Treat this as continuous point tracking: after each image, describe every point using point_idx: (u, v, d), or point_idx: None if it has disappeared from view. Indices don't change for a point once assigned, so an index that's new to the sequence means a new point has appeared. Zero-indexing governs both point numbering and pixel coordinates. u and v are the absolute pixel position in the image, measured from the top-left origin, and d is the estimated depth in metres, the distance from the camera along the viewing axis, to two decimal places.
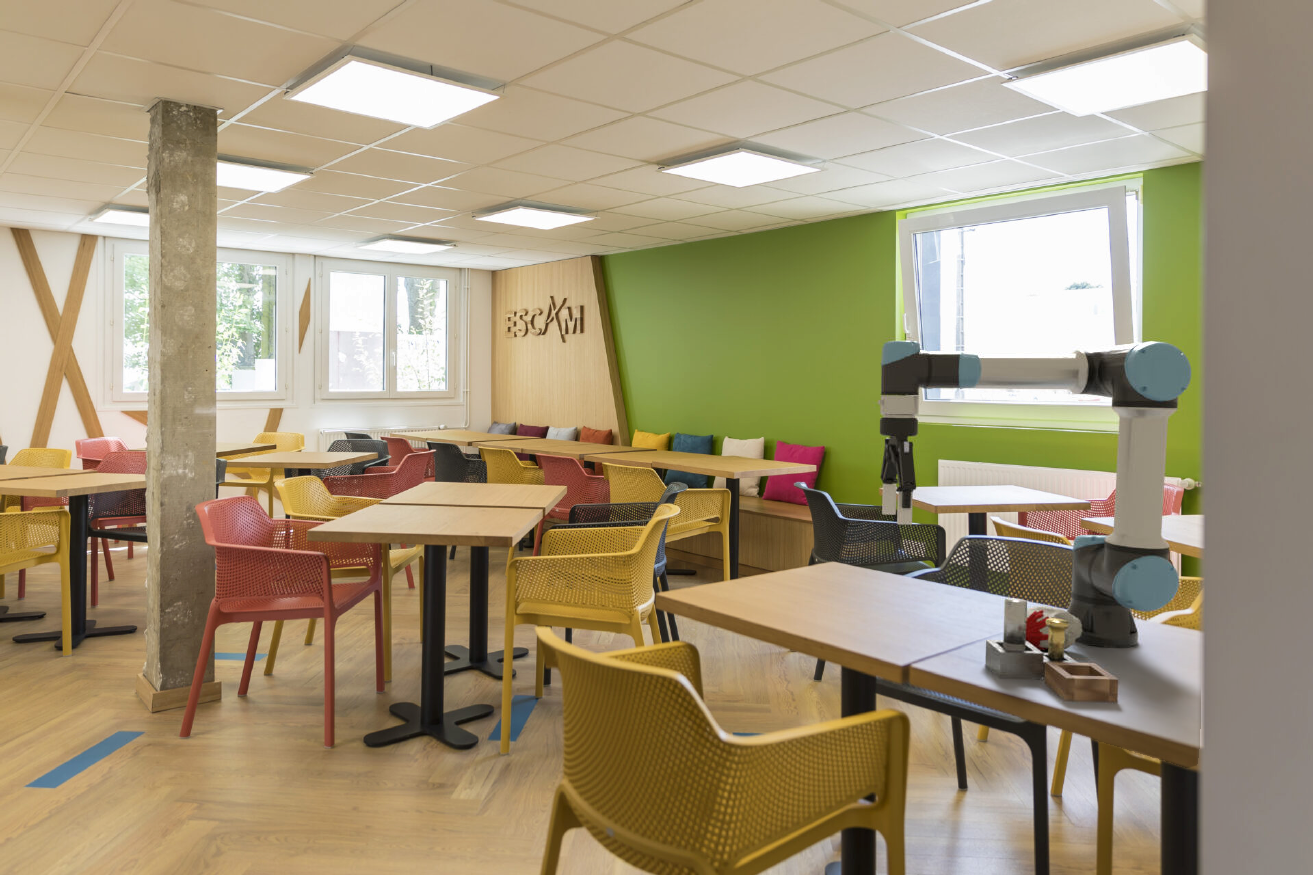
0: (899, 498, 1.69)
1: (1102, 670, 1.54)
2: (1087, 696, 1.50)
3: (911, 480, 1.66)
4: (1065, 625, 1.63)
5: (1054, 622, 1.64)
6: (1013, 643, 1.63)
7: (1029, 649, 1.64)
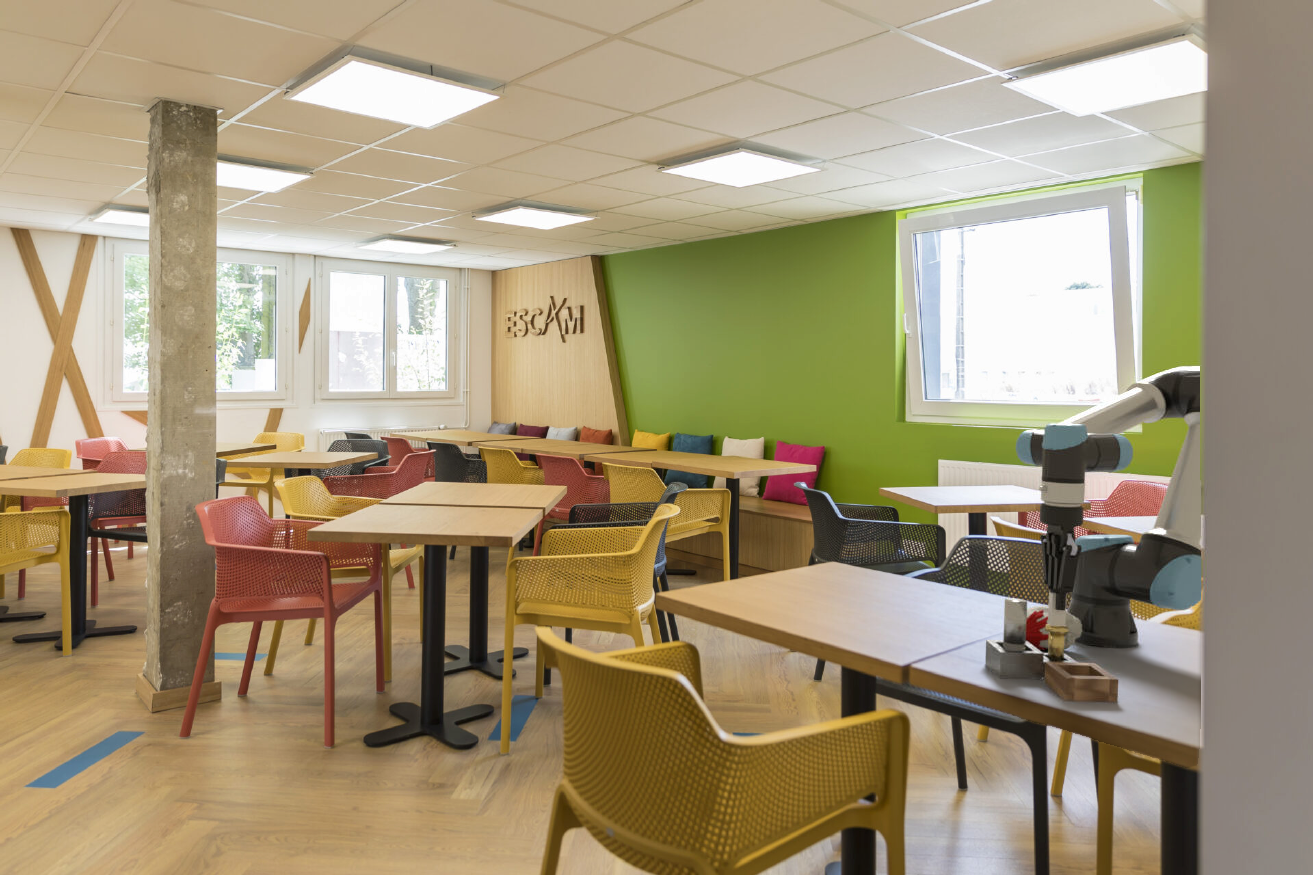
0: (1052, 599, 1.64)
1: (1102, 670, 1.54)
2: (1087, 696, 1.50)
3: (1069, 585, 1.60)
4: (1065, 630, 1.63)
5: (1054, 627, 1.64)
6: (1013, 643, 1.63)
7: (1029, 649, 1.64)
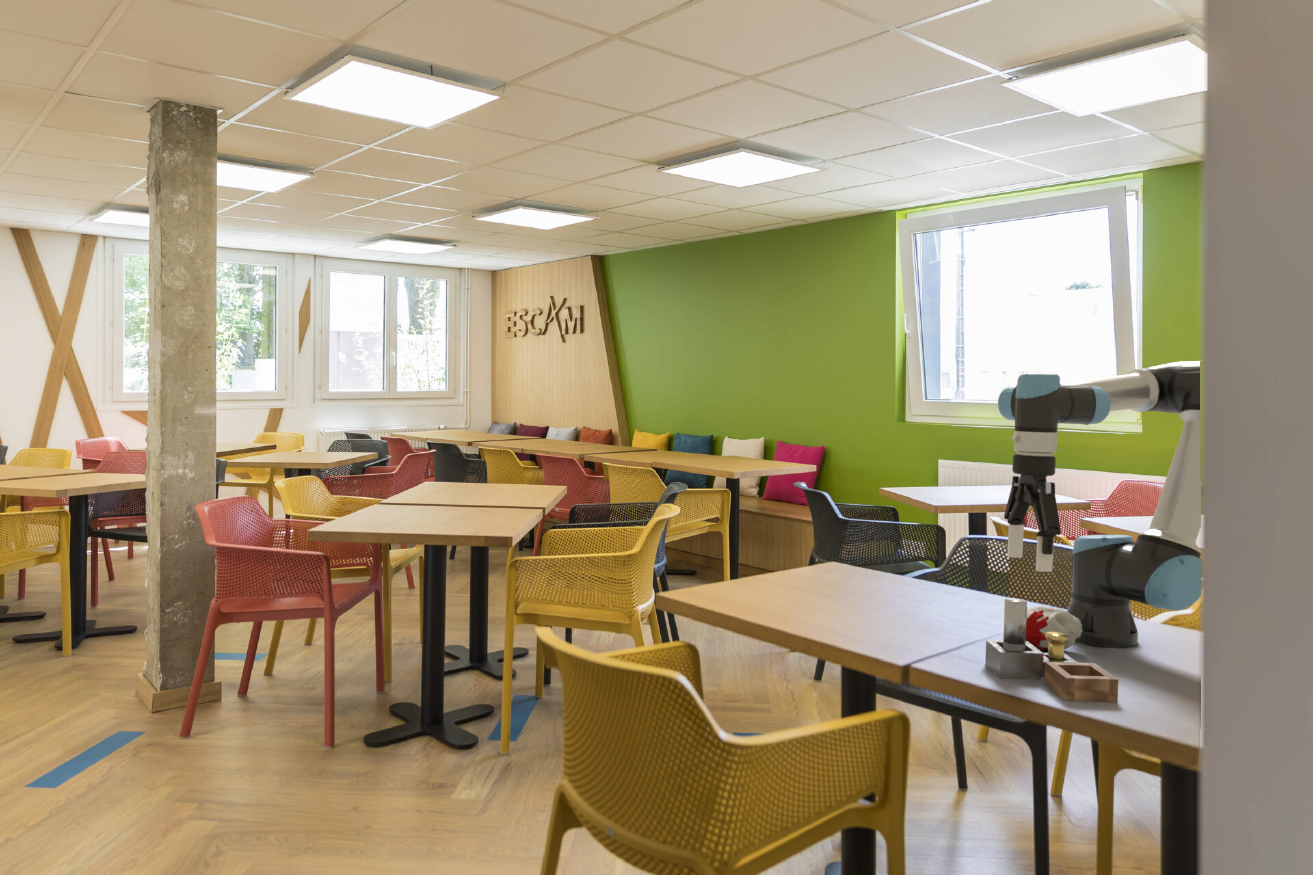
0: (1039, 543, 1.57)
1: (1102, 670, 1.54)
2: (1087, 696, 1.50)
3: (1055, 524, 1.54)
4: (1064, 639, 1.63)
5: (1053, 636, 1.64)
6: (1013, 643, 1.63)
7: (1029, 649, 1.64)
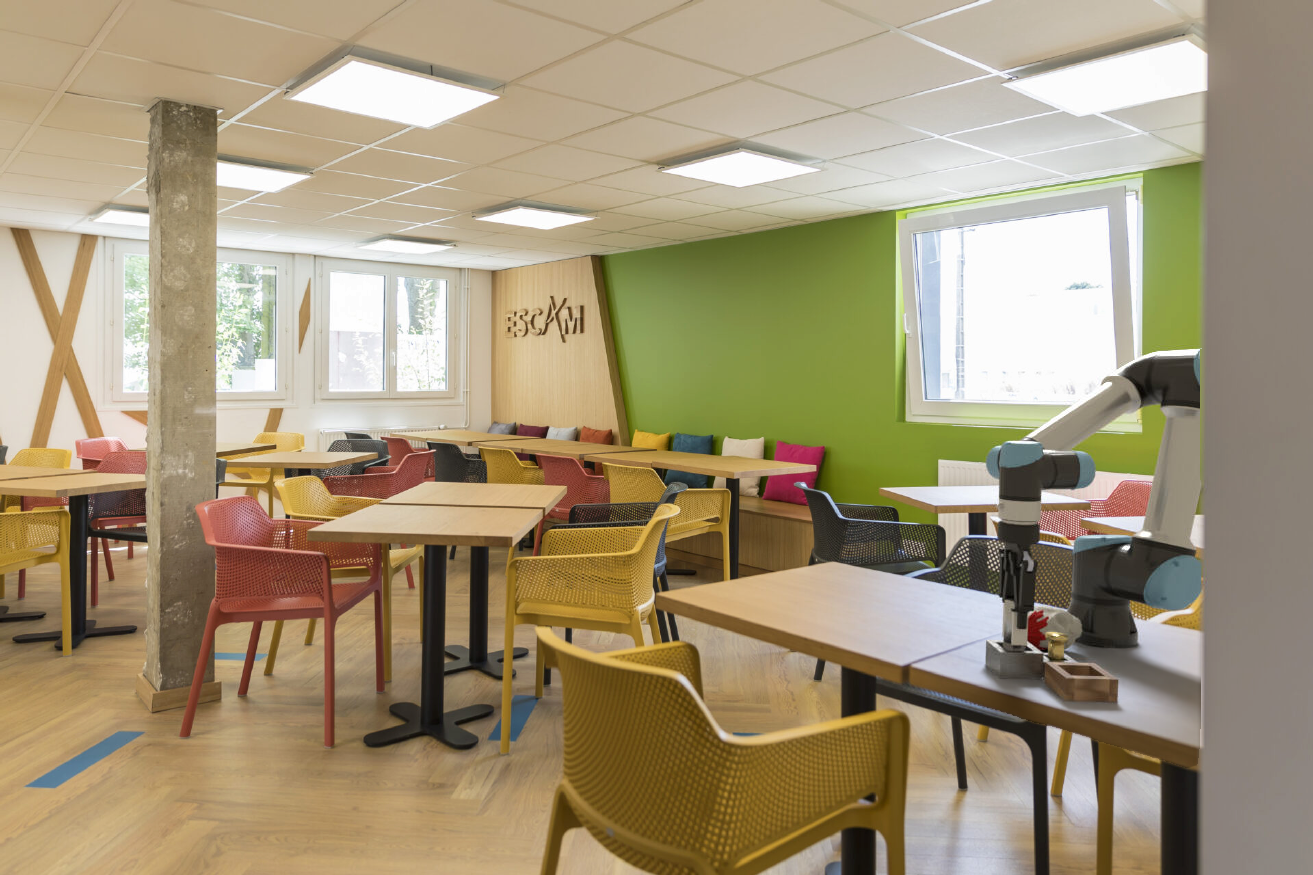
0: (1014, 618, 1.62)
1: (1102, 670, 1.54)
2: (1087, 696, 1.50)
3: (1030, 603, 1.59)
4: (1064, 639, 1.63)
5: (1053, 636, 1.64)
6: None
7: (1029, 649, 1.64)
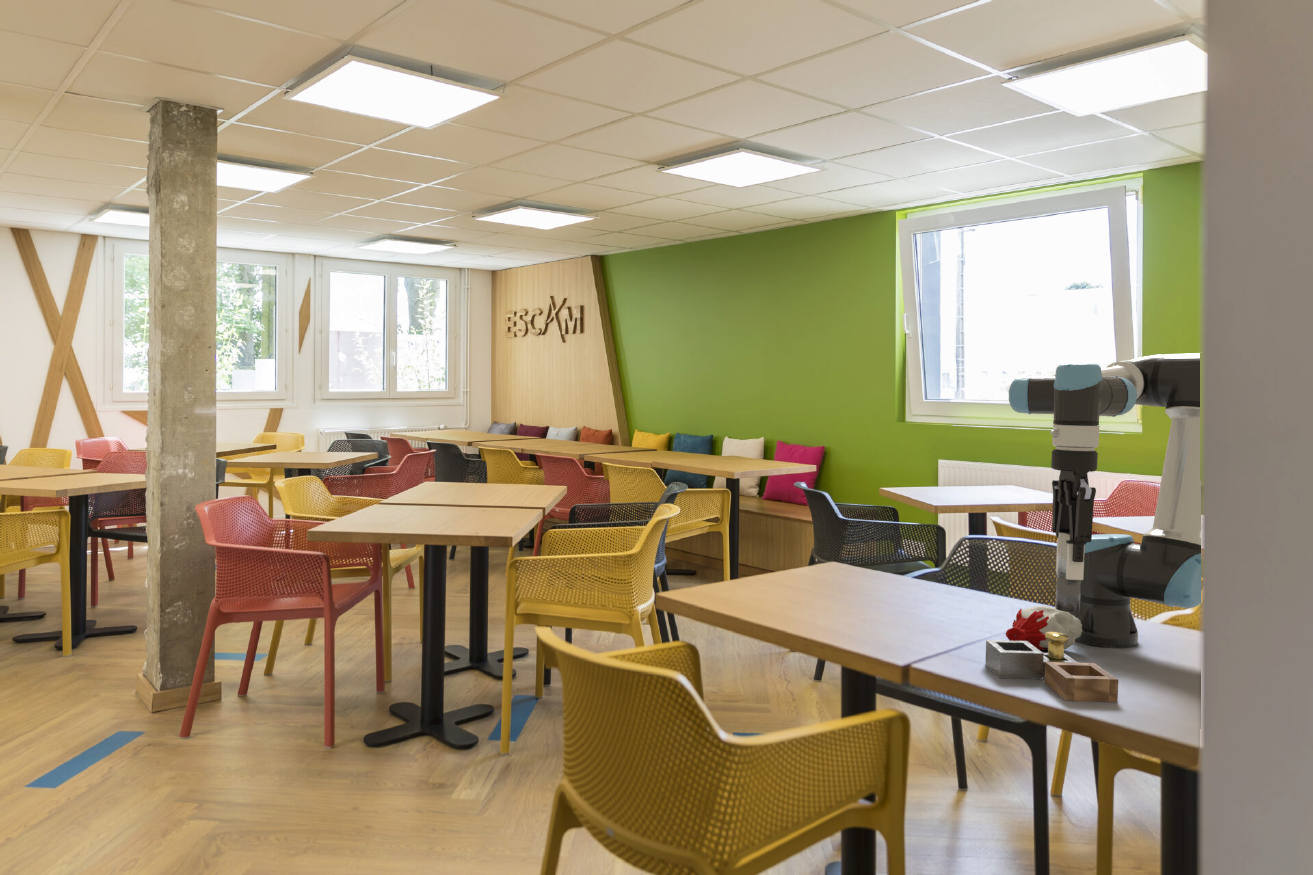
0: (1069, 550, 1.53)
1: (1102, 670, 1.54)
2: (1087, 696, 1.50)
3: (1087, 533, 1.49)
4: (1064, 639, 1.63)
5: (1053, 636, 1.64)
6: None
7: (1029, 649, 1.64)
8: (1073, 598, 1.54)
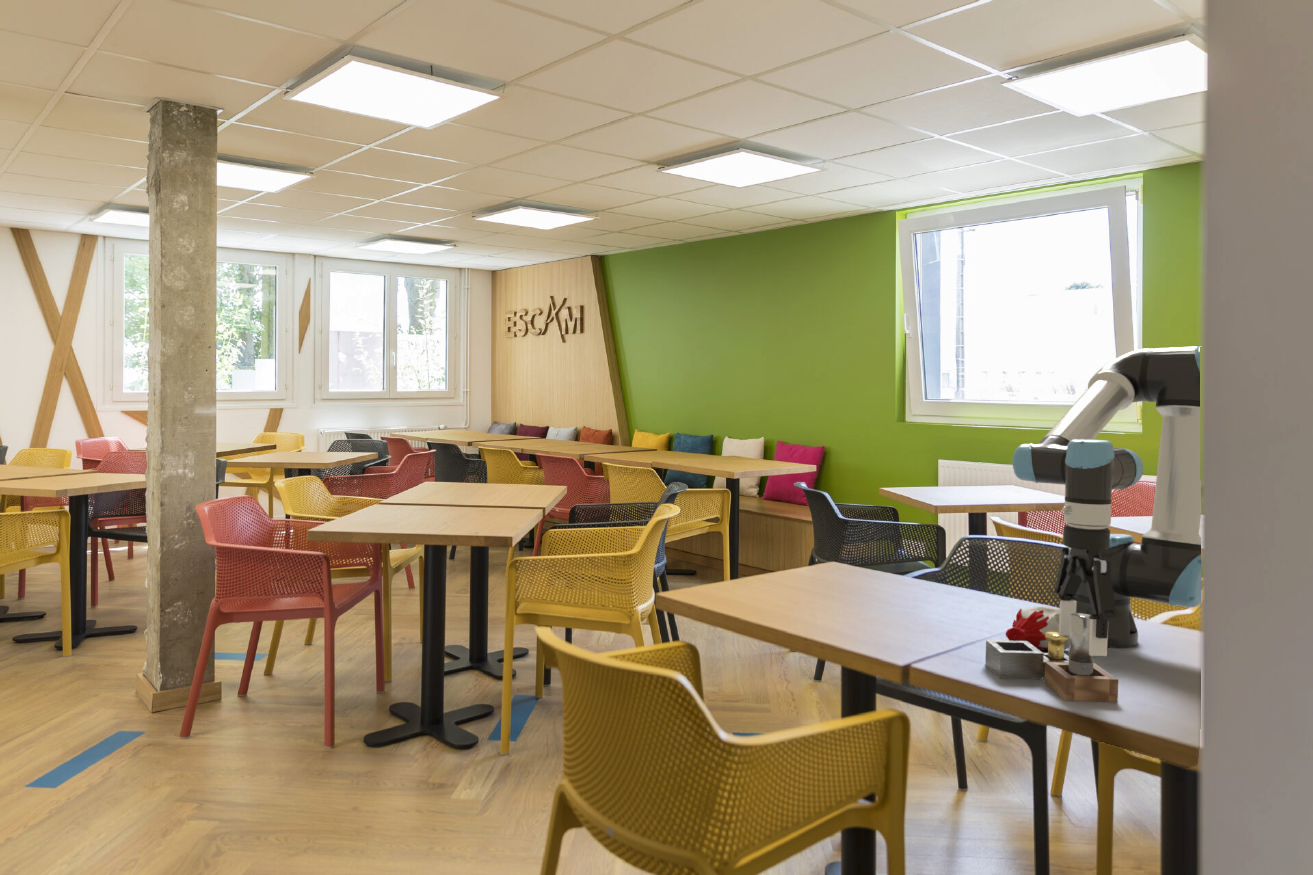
0: (1093, 626, 1.47)
1: (1102, 670, 1.54)
2: (1087, 696, 1.50)
3: (1110, 608, 1.45)
4: (1064, 639, 1.63)
5: (1053, 636, 1.64)
6: (1080, 661, 1.53)
7: (1029, 649, 1.64)
8: None
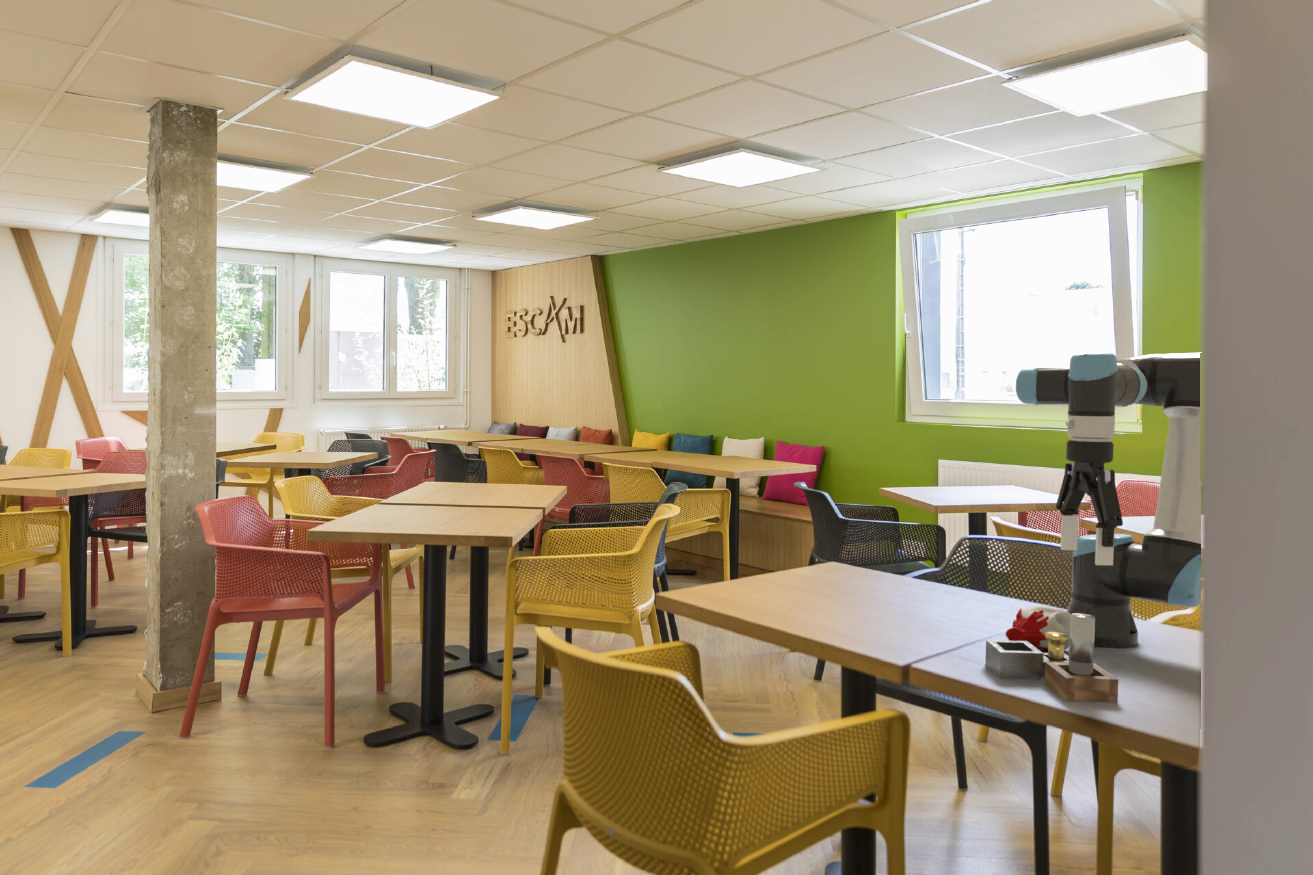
0: (1098, 535, 1.46)
1: (1102, 670, 1.54)
2: (1087, 696, 1.50)
3: (1116, 515, 1.44)
4: (1064, 639, 1.63)
5: (1053, 636, 1.64)
6: (1080, 661, 1.53)
7: (1029, 649, 1.64)
8: None
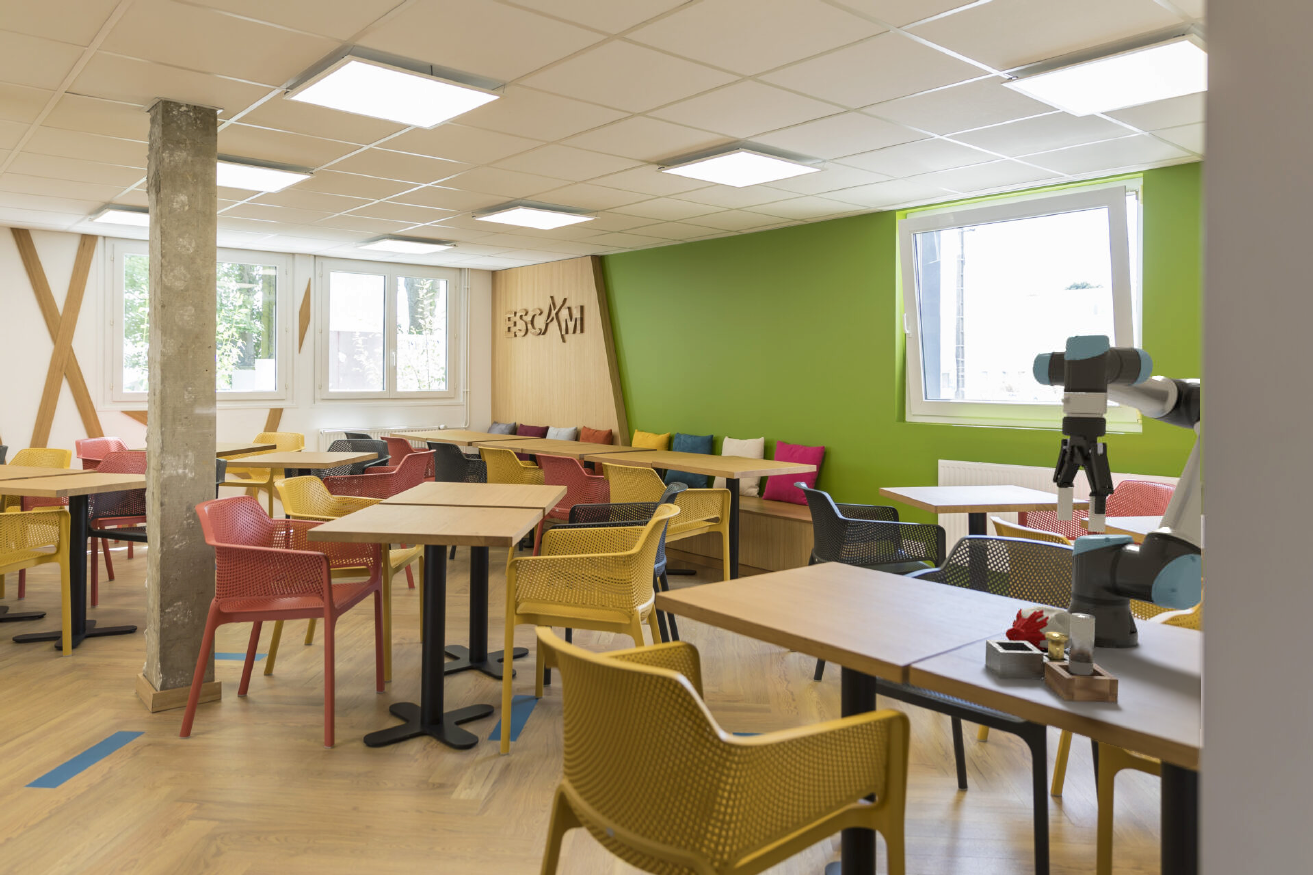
0: (1091, 503, 1.57)
1: (1102, 670, 1.54)
2: (1087, 696, 1.50)
3: (1108, 484, 1.54)
4: (1064, 639, 1.63)
5: (1053, 636, 1.64)
6: (1080, 661, 1.53)
7: (1029, 649, 1.64)
8: None
